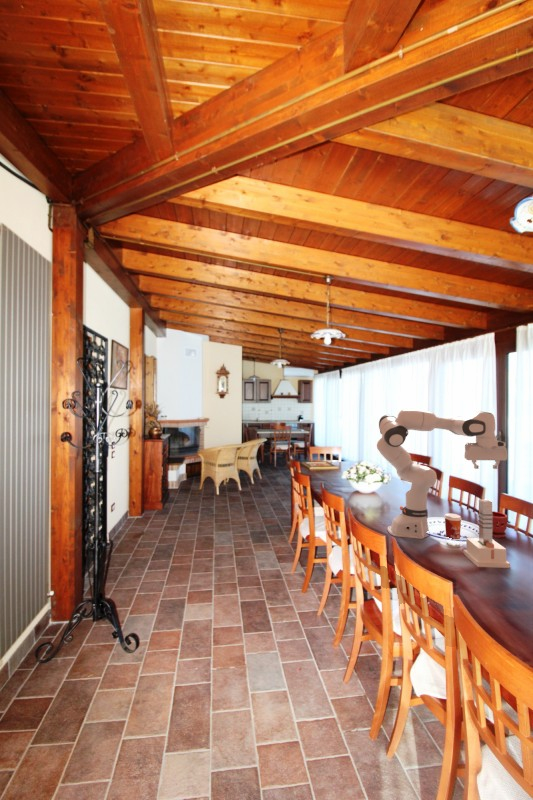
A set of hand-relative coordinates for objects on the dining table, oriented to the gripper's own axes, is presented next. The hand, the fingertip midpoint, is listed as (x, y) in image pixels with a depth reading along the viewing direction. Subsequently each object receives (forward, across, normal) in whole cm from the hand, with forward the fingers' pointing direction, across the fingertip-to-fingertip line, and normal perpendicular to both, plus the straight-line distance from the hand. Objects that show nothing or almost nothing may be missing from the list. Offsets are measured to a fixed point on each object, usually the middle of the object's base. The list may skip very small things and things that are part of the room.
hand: (485, 468), depth 191 cm
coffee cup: (+39, -18, -3) cm, 43 cm away
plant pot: (+40, +10, +12) cm, 43 cm away
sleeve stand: (+39, -11, -22) cm, 46 cm away
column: (+33, -11, -22) cm, 41 cm away
